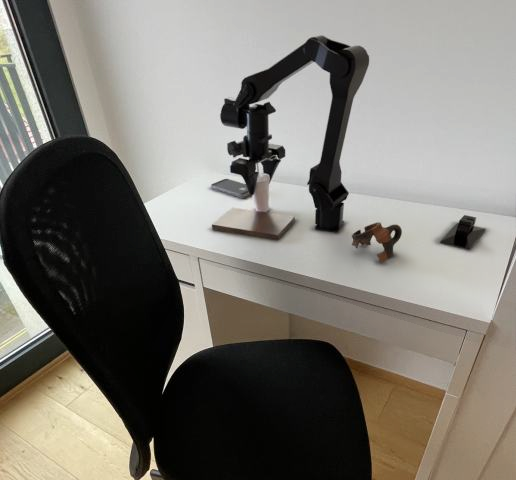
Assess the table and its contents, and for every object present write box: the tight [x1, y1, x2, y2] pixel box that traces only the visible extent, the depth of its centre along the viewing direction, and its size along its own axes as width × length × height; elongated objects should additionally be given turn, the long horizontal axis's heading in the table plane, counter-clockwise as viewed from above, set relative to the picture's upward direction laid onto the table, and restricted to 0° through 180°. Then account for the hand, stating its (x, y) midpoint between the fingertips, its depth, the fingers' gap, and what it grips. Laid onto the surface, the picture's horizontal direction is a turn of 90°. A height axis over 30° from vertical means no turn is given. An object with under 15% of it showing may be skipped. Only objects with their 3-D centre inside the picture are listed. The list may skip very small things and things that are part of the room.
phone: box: [210, 178, 251, 199], centre depth 134 cm, size 8×1×16 cm
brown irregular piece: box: [351, 222, 403, 264], centre depth 97 cm, size 12×10×8 cm
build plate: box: [439, 214, 486, 251], centre depth 100 cm, size 12×7×5 cm, turn 142°
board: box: [211, 207, 296, 241], centre depth 113 cm, size 20×12×2 cm, turn 65°
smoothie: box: [251, 163, 271, 213], centre depth 116 cm, size 6×6×14 cm
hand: (259, 190), depth 117 cm, fingers closed on smoothie, 7 cm apart
